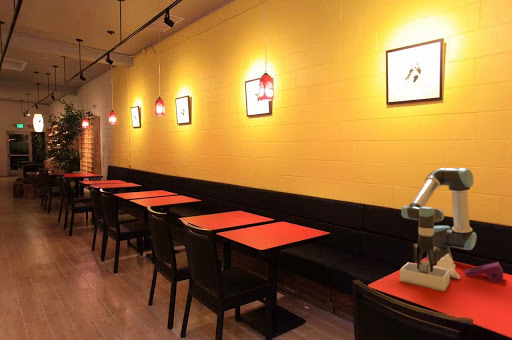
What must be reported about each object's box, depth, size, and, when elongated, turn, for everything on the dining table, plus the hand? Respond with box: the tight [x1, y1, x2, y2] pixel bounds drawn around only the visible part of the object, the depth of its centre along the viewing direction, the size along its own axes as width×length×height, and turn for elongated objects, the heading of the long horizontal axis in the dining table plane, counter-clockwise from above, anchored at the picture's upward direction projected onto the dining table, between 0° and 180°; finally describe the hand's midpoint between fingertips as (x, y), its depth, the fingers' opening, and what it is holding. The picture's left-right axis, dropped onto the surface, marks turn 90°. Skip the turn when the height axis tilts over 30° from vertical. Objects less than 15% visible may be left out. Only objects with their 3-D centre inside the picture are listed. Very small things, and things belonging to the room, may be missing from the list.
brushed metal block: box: [419, 259, 430, 274], centre depth 183 cm, size 10×4×8 cm, turn 141°
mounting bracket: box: [464, 261, 504, 283], centre depth 191 cm, size 9×8×18 cm
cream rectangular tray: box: [399, 261, 451, 292], centre depth 183 cm, size 16×22×7 cm
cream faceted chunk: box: [433, 254, 461, 280], centre depth 194 cm, size 12×15×14 cm
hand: (424, 276), depth 183 cm, fingers closed on brushed metal block, 4 cm apart
